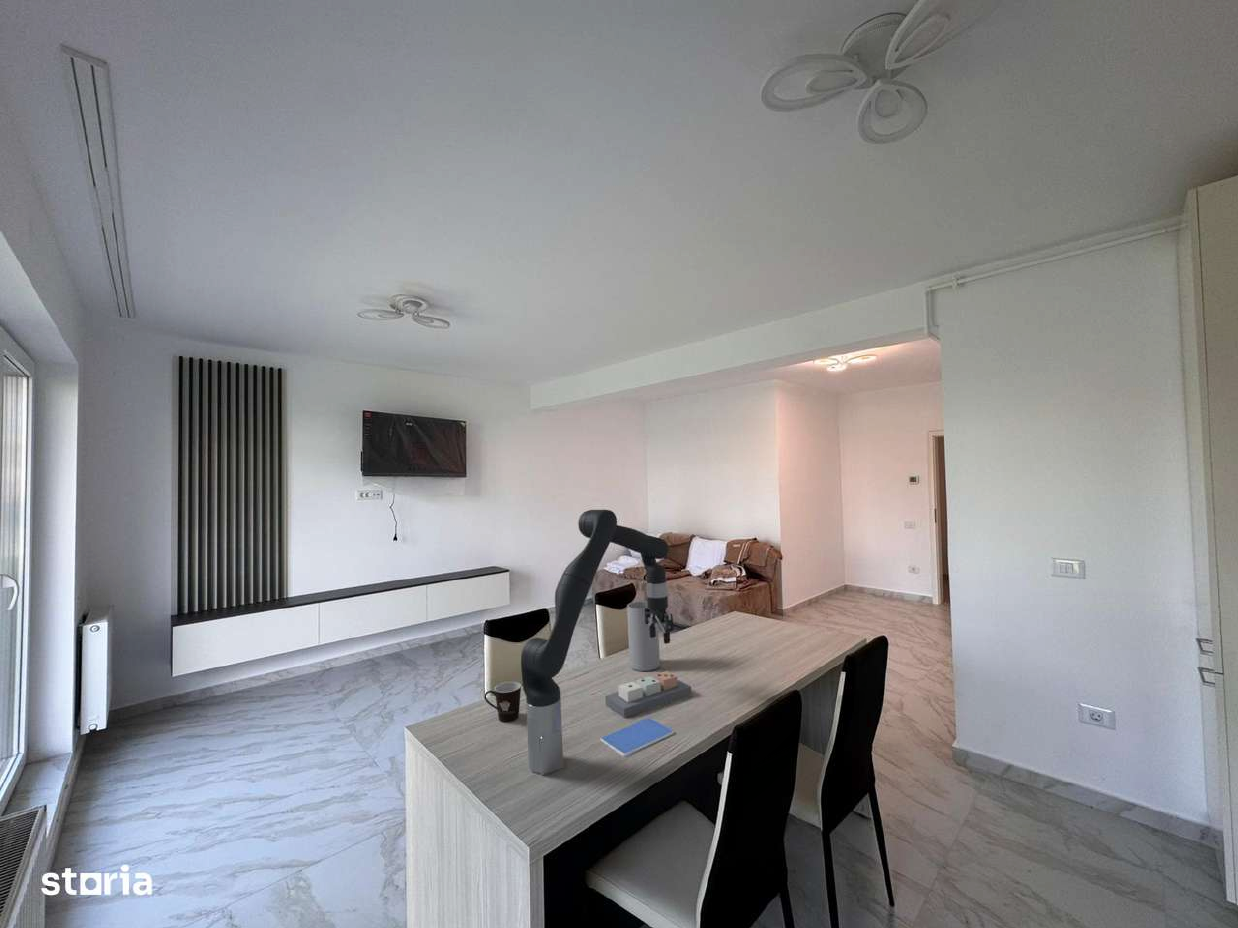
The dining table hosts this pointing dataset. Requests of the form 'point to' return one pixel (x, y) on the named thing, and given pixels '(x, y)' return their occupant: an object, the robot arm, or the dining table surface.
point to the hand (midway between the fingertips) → (659, 640)
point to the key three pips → (667, 680)
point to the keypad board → (647, 700)
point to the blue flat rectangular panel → (636, 736)
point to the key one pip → (630, 691)
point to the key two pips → (649, 685)
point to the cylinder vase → (641, 639)
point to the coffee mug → (507, 701)
